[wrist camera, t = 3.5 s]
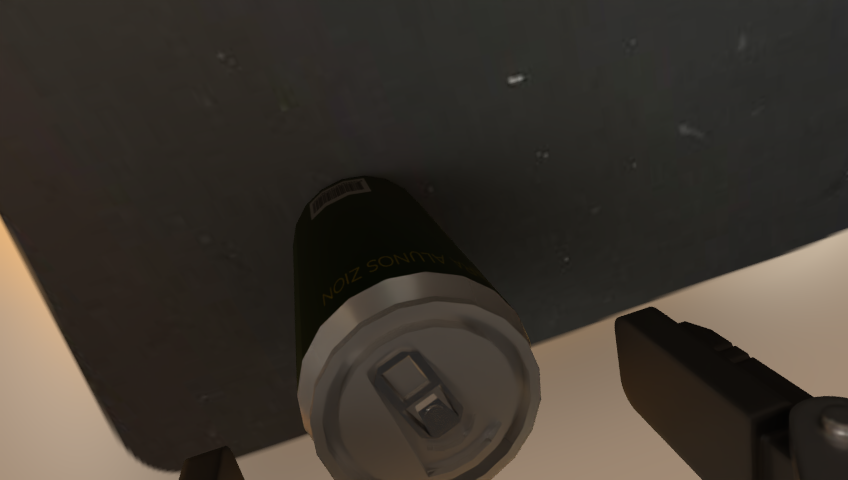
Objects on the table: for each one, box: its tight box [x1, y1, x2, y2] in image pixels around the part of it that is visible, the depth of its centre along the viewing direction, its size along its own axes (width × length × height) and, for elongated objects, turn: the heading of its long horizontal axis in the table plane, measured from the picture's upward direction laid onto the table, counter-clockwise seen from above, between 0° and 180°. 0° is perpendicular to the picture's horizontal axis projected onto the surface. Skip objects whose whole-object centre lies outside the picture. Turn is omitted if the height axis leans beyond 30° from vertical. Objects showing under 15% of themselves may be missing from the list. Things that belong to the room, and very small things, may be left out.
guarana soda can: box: [293, 176, 541, 480], centre depth 17 cm, size 5×5×12 cm
